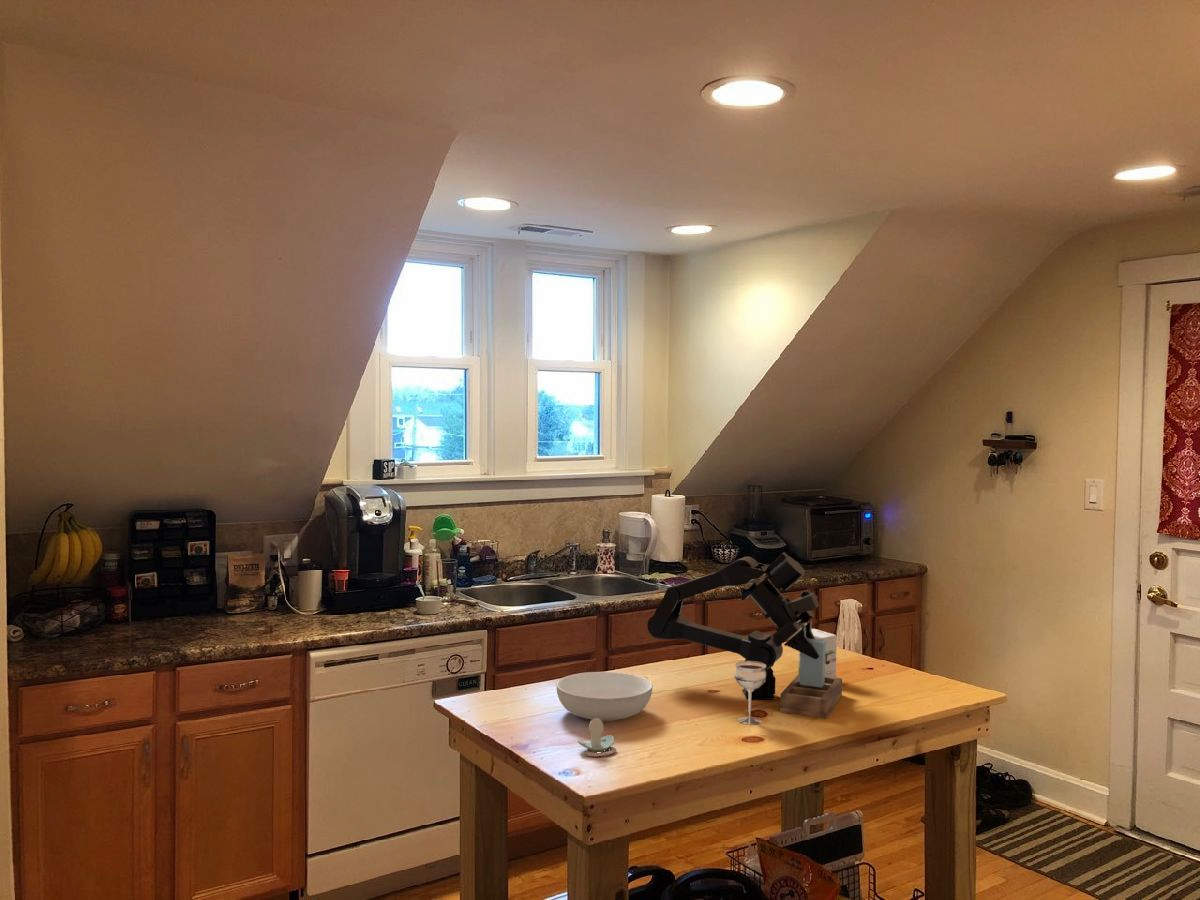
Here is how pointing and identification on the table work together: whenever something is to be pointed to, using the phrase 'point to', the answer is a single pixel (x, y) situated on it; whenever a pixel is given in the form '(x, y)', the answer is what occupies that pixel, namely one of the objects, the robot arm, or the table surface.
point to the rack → (811, 697)
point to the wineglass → (750, 683)
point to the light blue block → (813, 665)
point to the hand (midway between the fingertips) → (819, 656)
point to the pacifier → (598, 740)
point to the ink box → (827, 651)
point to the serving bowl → (604, 694)
